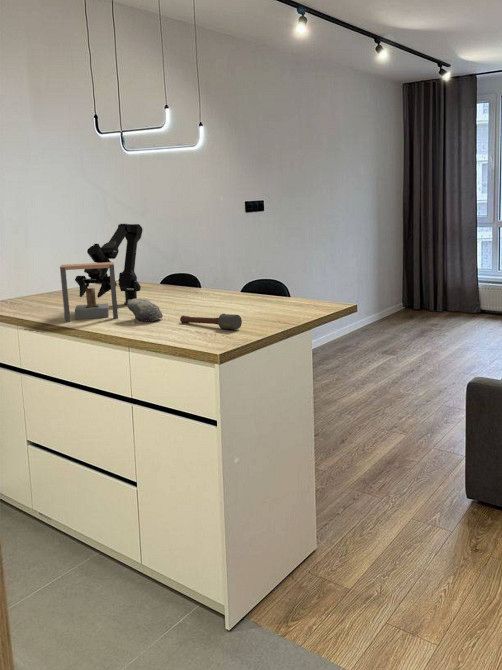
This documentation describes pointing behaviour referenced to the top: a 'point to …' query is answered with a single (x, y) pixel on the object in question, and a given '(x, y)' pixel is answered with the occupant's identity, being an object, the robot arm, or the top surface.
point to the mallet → (216, 321)
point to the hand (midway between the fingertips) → (89, 297)
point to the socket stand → (82, 310)
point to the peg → (91, 298)
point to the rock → (144, 310)
